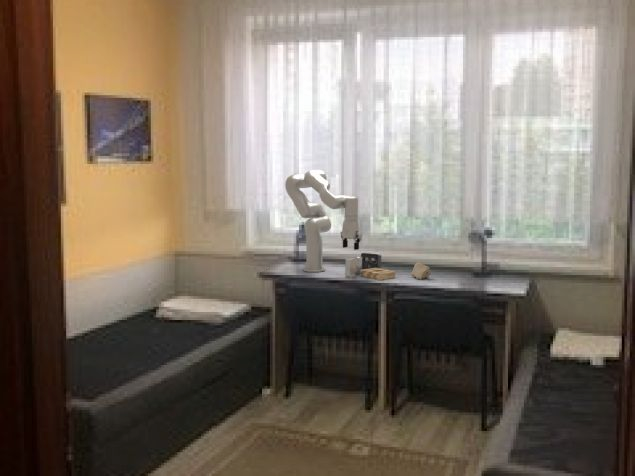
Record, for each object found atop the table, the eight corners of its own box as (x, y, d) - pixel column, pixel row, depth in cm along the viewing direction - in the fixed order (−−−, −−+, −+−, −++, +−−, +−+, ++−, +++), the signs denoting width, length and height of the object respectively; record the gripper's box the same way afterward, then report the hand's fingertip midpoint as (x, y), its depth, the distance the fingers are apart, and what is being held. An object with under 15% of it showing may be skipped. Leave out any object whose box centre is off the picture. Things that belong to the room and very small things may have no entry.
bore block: (360, 275, 391) (360, 269, 391) (375, 273, 399) (376, 267, 398) (379, 280, 379) (379, 273, 378) (395, 277, 386) (395, 271, 386)
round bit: (353, 274, 397) (353, 257, 396) (358, 273, 400) (359, 256, 398) (358, 275, 394) (358, 257, 393) (363, 274, 397) (363, 257, 395)
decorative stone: (418, 274, 395) (419, 260, 393) (432, 279, 381) (432, 264, 380) (406, 276, 391) (406, 261, 390) (419, 280, 378) (419, 265, 377)
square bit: (345, 276, 391) (345, 258, 390) (350, 275, 393) (350, 258, 392) (350, 277, 388) (350, 259, 386) (355, 276, 390) (355, 259, 389)
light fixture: (385, 270, 412) (386, 252, 411) (376, 272, 401) (377, 254, 400) (369, 269, 417) (369, 251, 416) (359, 271, 406) (360, 253, 405)
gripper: (336, 217, 391) (335, 247, 393) (356, 220, 377) (355, 251, 380) (346, 216, 395) (345, 246, 398) (366, 219, 382) (365, 249, 384)
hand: (350, 248), depth 389 cm, fingers open, 9 cm apart
